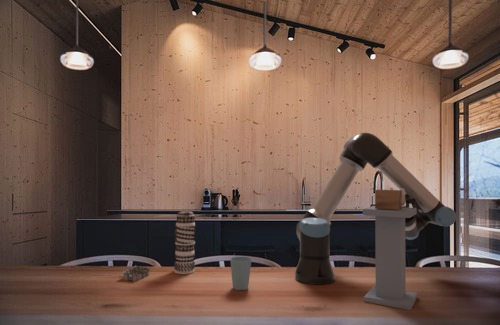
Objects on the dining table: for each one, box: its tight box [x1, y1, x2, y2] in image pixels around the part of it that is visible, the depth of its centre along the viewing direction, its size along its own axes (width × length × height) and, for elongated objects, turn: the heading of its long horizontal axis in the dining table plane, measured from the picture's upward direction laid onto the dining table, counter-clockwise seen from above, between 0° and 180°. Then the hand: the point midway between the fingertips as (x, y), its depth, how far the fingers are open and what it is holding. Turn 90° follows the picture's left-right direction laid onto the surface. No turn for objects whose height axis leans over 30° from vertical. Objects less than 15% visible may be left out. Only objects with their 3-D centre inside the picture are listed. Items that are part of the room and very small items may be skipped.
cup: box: [230, 256, 252, 291], centre depth 128 cm, size 8×8×10 cm
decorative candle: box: [173, 210, 197, 275], centre depth 151 cm, size 9×9×25 cm
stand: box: [362, 205, 418, 311], centre depth 119 cm, size 14×17×30 cm
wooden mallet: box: [374, 189, 406, 210], centre depth 124 cm, size 26×7×6 cm, turn 149°
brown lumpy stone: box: [122, 265, 151, 282], centre depth 140 cm, size 11×8×4 cm
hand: (396, 191), depth 129 cm, fingers closed on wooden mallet, 3 cm apart
